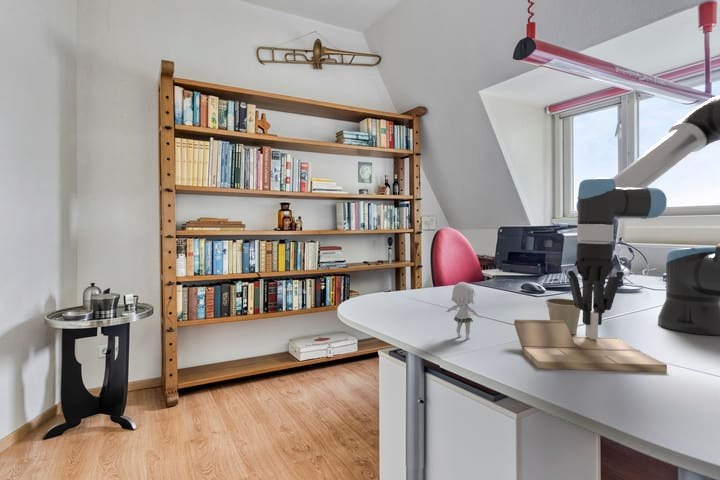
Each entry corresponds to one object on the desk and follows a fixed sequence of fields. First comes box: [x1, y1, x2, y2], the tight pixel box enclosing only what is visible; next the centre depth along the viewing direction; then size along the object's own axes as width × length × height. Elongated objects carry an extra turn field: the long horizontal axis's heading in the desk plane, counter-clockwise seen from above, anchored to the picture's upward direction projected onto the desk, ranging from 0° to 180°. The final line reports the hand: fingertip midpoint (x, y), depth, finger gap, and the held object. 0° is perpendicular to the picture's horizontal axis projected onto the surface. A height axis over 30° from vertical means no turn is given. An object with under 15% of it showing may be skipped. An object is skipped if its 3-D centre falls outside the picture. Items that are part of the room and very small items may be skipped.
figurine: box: [445, 281, 482, 340], centre depth 99 cm, size 10×6×15 cm, turn 47°
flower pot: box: [545, 297, 582, 336], centre depth 104 cm, size 9×9×9 cm
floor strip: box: [523, 347, 668, 373], centre depth 81 cm, size 25×9×2 cm, turn 84°
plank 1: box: [513, 319, 577, 351], centre depth 90 cm, size 12×8×2 cm
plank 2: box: [572, 336, 638, 350], centre depth 90 cm, size 12×8×2 cm
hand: (591, 337), depth 92 cm, fingers closed
